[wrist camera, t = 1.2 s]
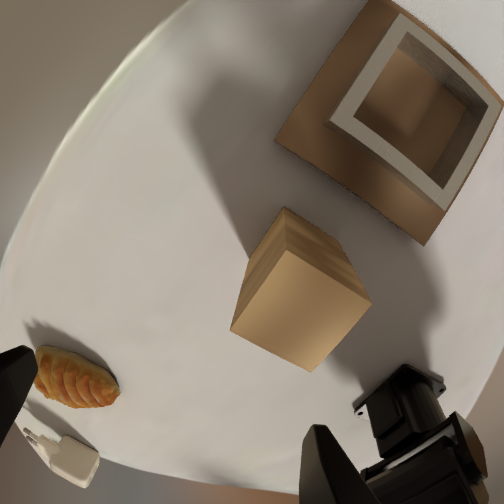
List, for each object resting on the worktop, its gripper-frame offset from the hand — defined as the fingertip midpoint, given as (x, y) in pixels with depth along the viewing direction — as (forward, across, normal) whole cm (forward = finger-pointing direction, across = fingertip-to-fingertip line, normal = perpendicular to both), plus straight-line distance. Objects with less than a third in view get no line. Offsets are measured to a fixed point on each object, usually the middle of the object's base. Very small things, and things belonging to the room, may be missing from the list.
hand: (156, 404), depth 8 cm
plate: (+12, -9, -11) cm, 19 cm away
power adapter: (+13, +18, +32) cm, 39 cm away
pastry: (+13, +13, +16) cm, 24 cm away
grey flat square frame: (+11, -9, -11) cm, 18 cm away
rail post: (+12, -4, -1) cm, 13 cm away
